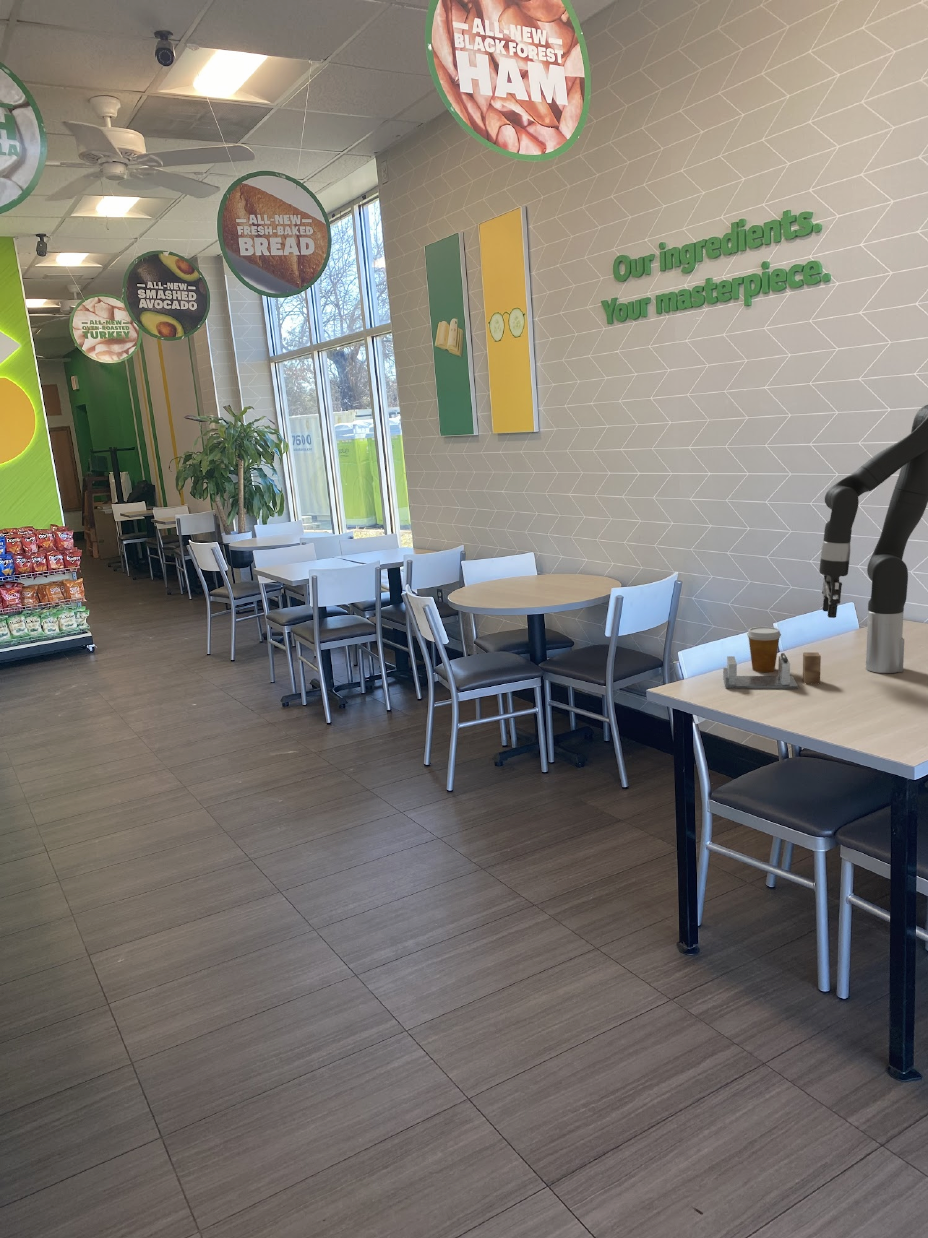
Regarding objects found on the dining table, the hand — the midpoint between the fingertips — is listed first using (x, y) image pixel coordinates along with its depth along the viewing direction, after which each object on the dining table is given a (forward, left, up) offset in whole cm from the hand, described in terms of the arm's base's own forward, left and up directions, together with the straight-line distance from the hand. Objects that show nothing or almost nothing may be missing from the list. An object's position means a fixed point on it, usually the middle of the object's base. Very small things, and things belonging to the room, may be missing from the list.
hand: (829, 614), depth 256 cm
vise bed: (+20, +12, -17) cm, 29 cm away
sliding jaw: (+13, +12, -17) cm, 25 cm away
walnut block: (+6, +10, -17) cm, 21 cm away
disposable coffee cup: (+17, -3, -17) cm, 25 cm away
